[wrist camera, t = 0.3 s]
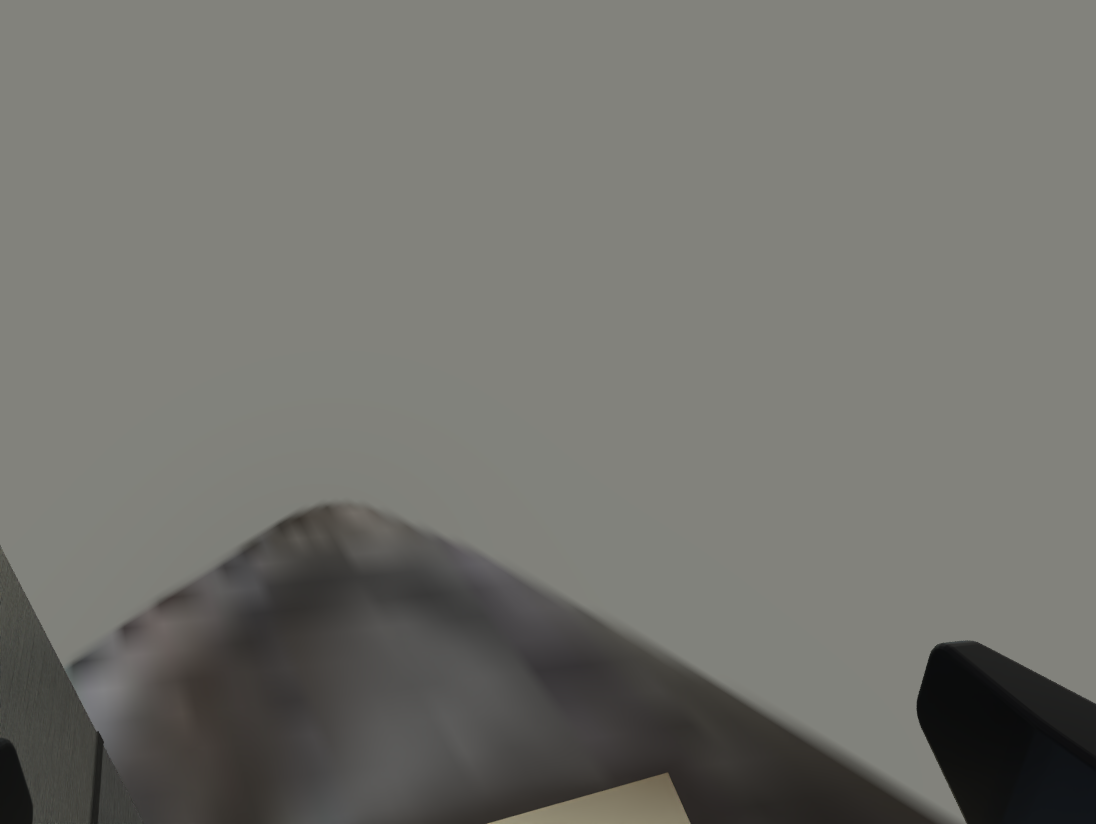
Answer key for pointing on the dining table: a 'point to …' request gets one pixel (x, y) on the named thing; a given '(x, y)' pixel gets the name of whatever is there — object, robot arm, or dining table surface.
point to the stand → (614, 806)
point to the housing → (52, 724)
